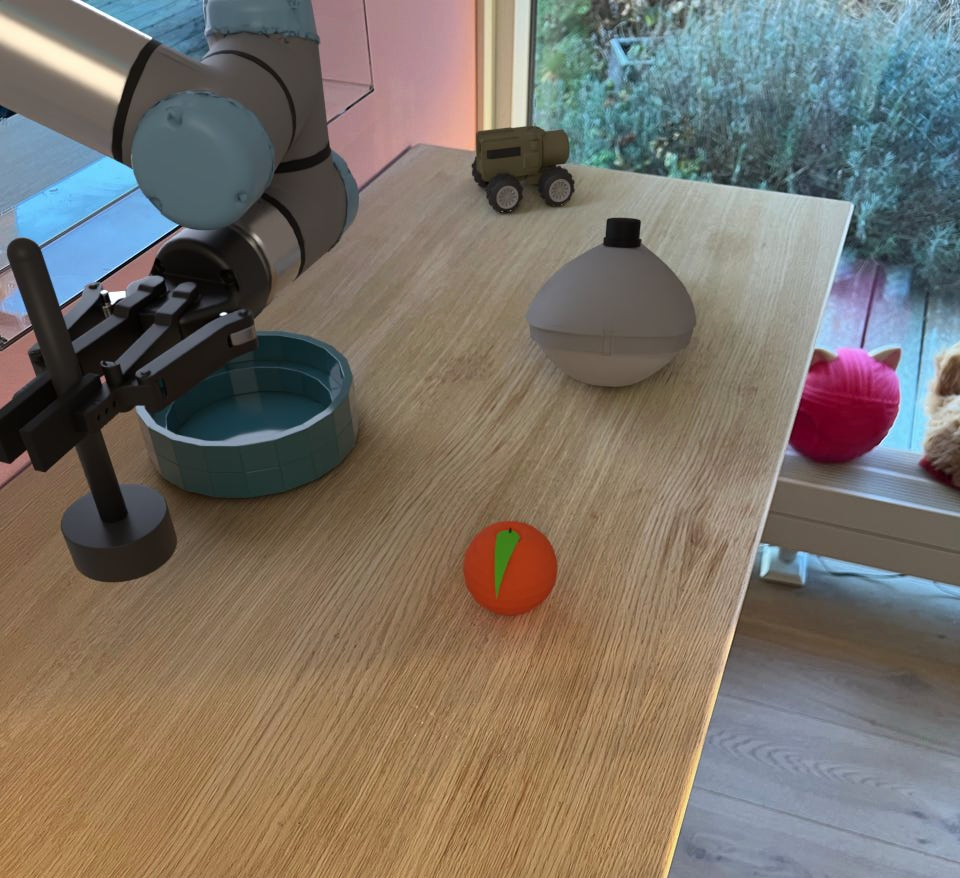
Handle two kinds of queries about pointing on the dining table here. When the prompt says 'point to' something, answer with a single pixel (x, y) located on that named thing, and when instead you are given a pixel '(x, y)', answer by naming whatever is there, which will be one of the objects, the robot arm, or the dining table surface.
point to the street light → (613, 311)
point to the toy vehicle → (522, 165)
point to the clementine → (510, 567)
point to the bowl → (258, 421)
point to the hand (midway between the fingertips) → (14, 447)
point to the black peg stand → (92, 454)
